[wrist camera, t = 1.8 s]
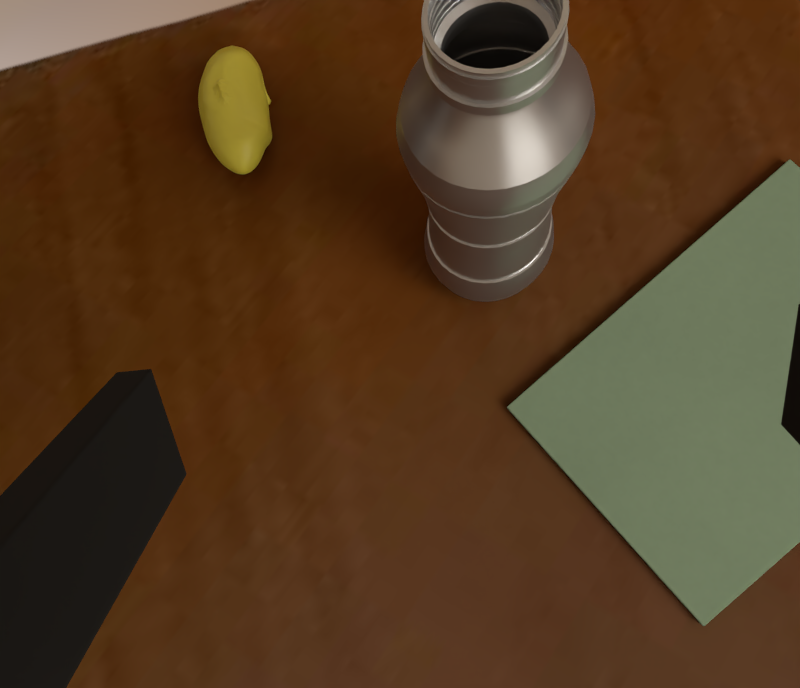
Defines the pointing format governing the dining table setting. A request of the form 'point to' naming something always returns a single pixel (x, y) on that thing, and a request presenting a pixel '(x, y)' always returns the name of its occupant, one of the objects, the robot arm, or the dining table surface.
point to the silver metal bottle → (493, 137)
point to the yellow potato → (235, 109)
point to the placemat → (692, 406)
